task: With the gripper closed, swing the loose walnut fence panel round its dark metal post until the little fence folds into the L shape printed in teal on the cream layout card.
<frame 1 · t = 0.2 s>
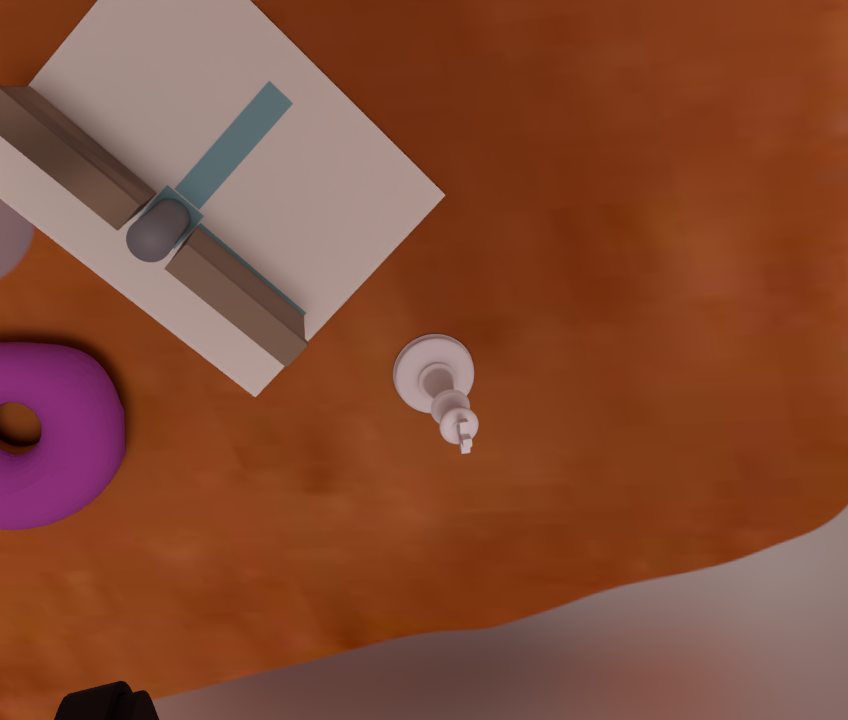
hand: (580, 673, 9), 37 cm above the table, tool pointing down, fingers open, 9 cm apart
chess piece: (432, 371, 47), on the table
fence panel: (73, 154, 37), point 4 cm above the table, hinge at 0.0°
fence base: (171, 216, 42), on the table
donut: (36, 417, 44), on the table
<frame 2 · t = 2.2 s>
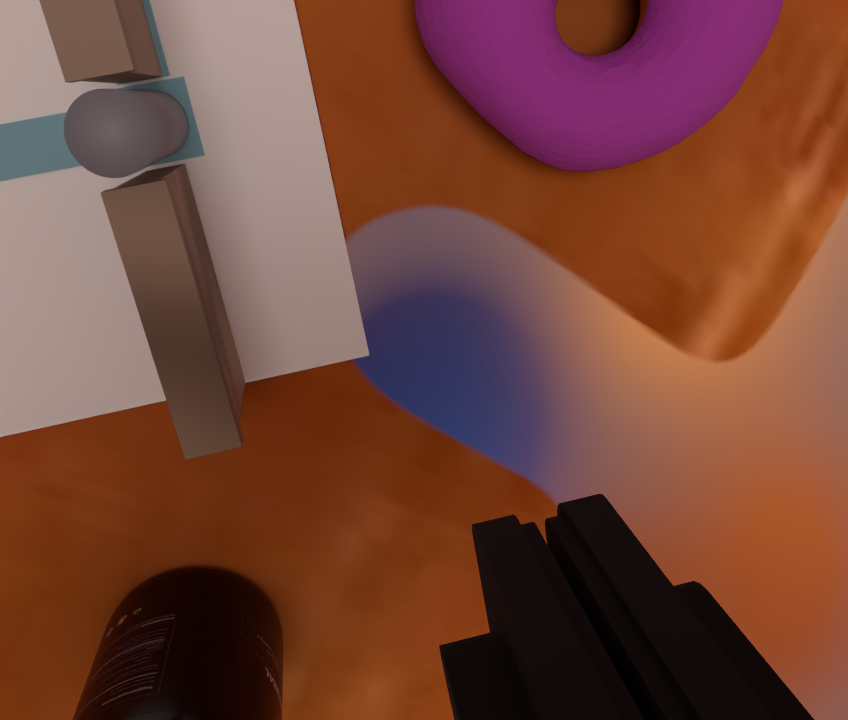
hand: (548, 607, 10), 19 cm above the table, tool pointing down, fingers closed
supplement bottle: (196, 632, 31), on the table
fence panel: (188, 302, 23), point 3 cm above the table, hinge at 0.0°
fence base: (157, 123, 25), on the table
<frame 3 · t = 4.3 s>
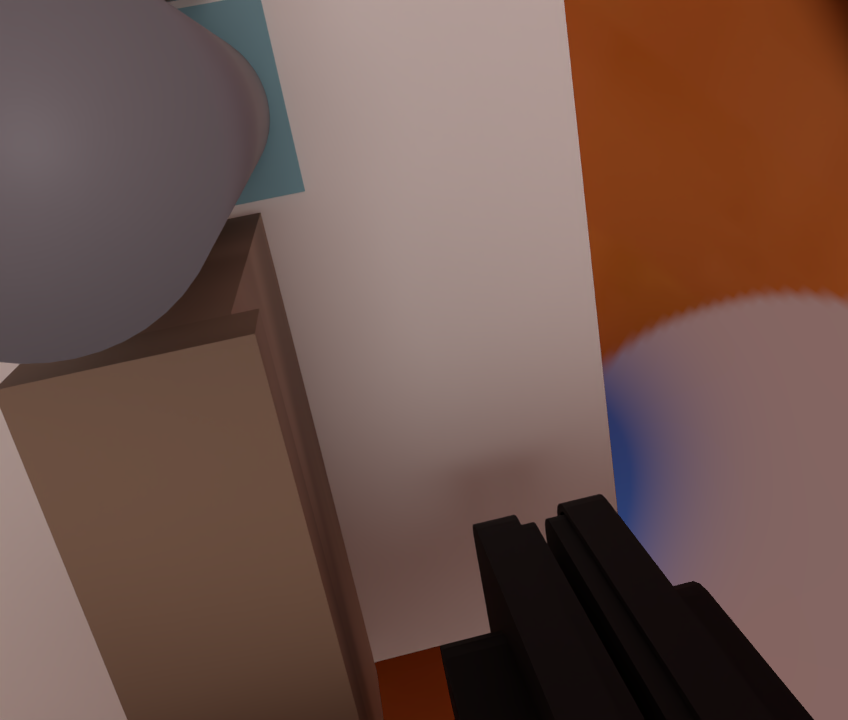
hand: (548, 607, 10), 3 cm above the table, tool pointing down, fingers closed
fence panel: (280, 593, 9), point 4 cm above the table, hinge at 0.0°, touching gripper
fence base: (192, 114, 10), on the table
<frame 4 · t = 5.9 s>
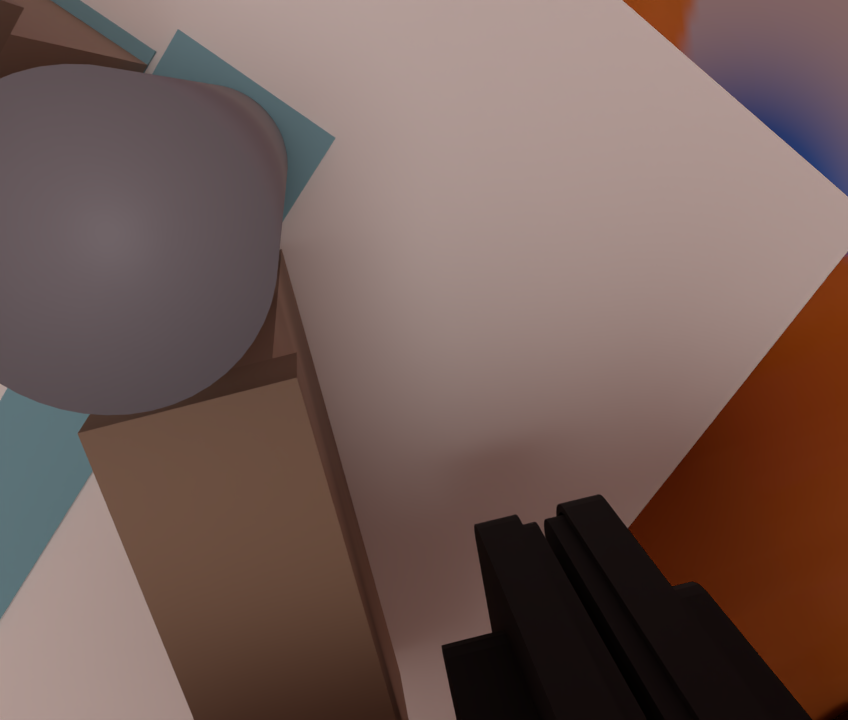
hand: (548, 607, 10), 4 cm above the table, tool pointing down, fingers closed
fence panel: (313, 600, 9), point 4 cm above the table, hinge at 43.3°, touching gripper
fence base: (216, 159, 11), on the table
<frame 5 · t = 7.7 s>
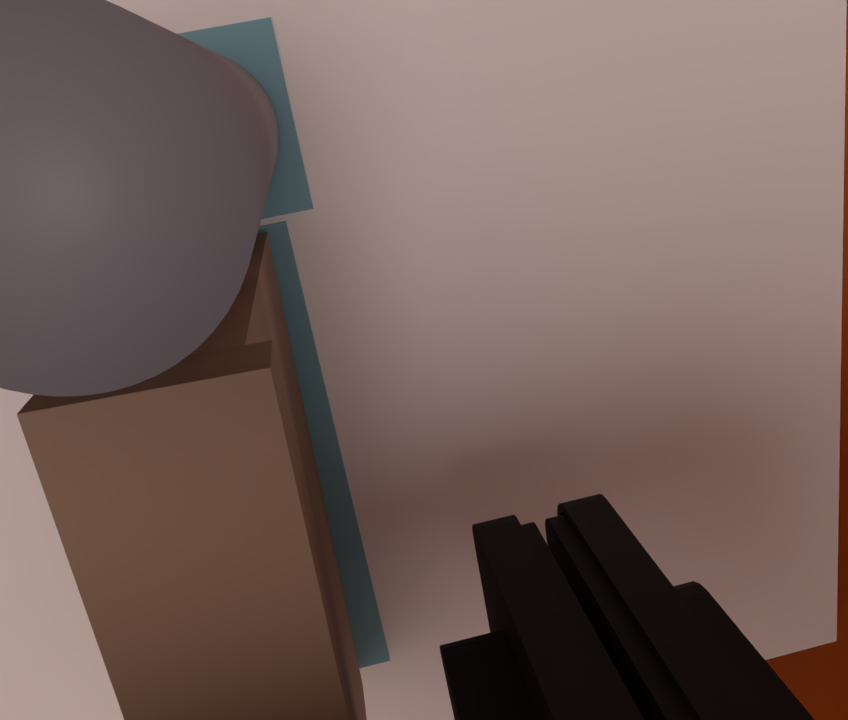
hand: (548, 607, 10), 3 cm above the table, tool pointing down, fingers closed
fence panel: (275, 608, 9), point 4 cm above the table, hinge at 92.0°
fence base: (203, 132, 10), on the table
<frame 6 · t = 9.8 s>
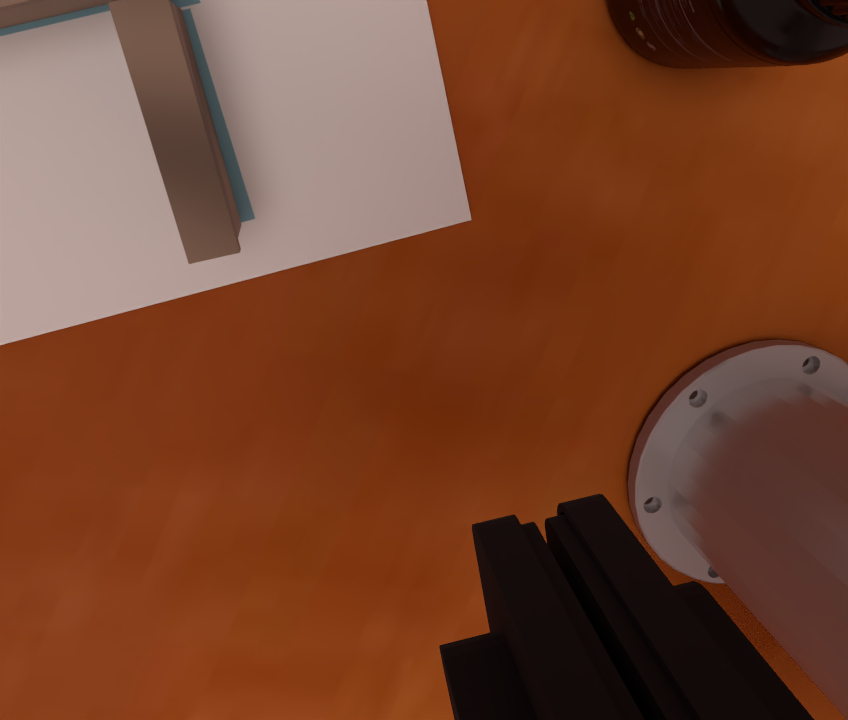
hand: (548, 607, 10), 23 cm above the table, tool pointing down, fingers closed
fence panel: (188, 130, 25), point 4 cm above the table, hinge at 92.1°
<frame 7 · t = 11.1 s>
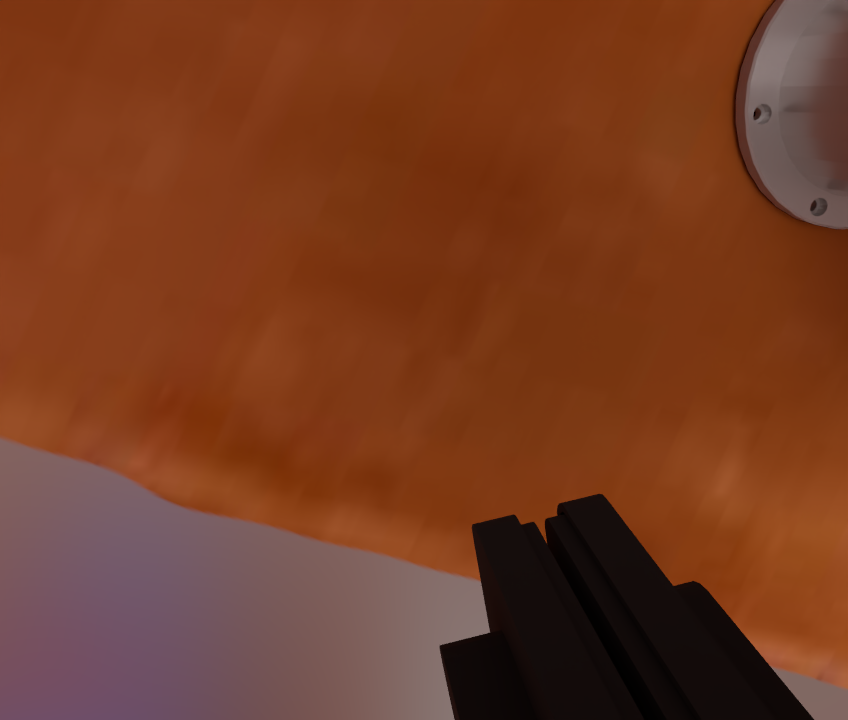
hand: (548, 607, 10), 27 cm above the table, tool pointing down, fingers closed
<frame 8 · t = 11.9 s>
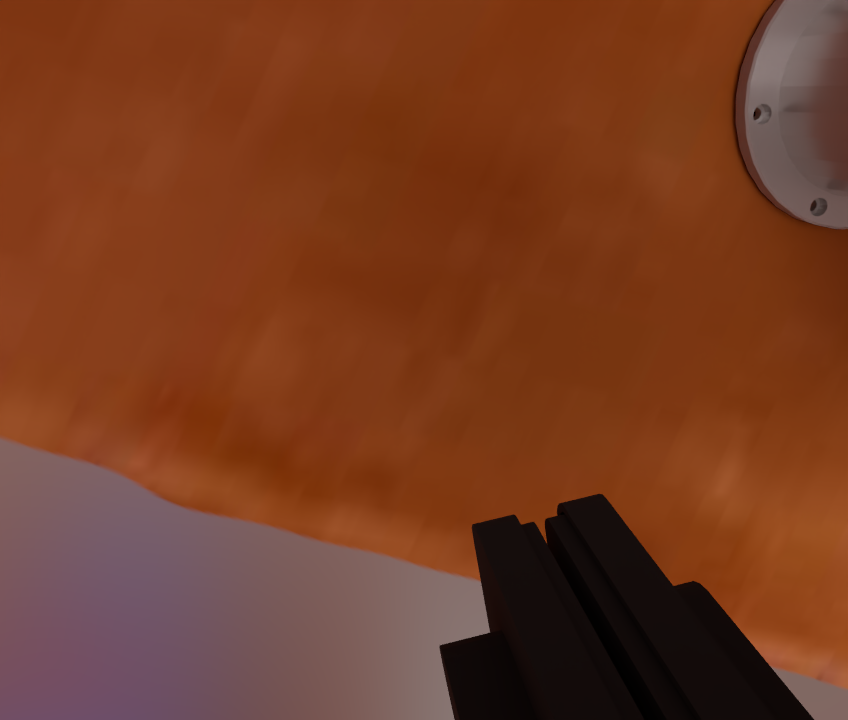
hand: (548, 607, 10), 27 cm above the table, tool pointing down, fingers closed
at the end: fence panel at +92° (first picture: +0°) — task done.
